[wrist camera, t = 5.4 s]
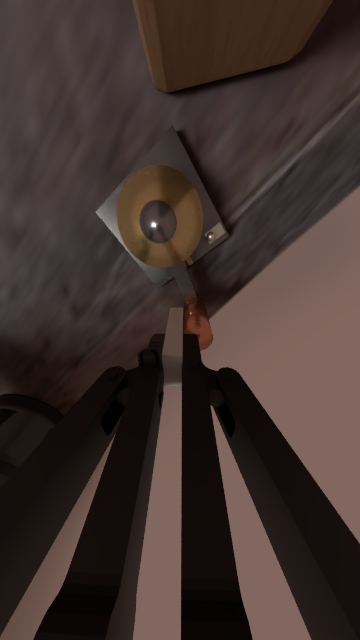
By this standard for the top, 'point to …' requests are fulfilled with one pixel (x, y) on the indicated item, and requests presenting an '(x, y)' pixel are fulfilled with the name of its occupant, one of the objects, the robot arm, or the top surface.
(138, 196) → the crank handle
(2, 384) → the top surface
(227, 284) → the top surface
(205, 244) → the level base
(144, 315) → the top surface
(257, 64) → the wooden block
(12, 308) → the top surface
